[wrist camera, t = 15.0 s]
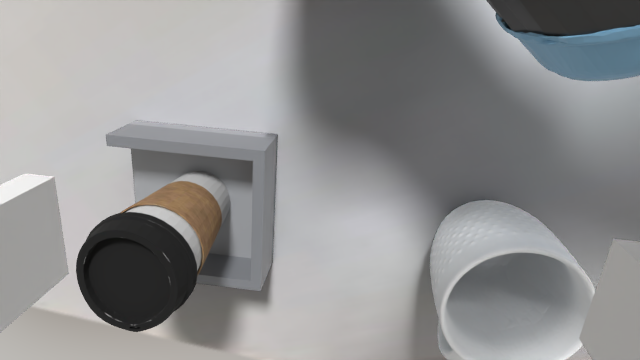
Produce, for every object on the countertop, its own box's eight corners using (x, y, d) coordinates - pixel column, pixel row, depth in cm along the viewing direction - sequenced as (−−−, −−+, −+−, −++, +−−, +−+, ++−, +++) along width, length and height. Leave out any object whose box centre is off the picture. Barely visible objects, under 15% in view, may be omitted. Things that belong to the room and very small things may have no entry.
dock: (136, 120, 44) (105, 134, 39) (277, 134, 43) (264, 151, 38) (146, 246, 49) (119, 273, 44) (272, 261, 48) (260, 291, 43)
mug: (484, 323, 48) (522, 429, 36) (387, 287, 48) (393, 382, 35) (558, 204, 42) (633, 282, 30) (450, 163, 42) (482, 224, 30)
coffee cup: (169, 237, 47) (82, 334, 33) (152, 159, 44) (50, 229, 30) (247, 236, 46) (193, 336, 32) (237, 156, 43) (171, 227, 29)
